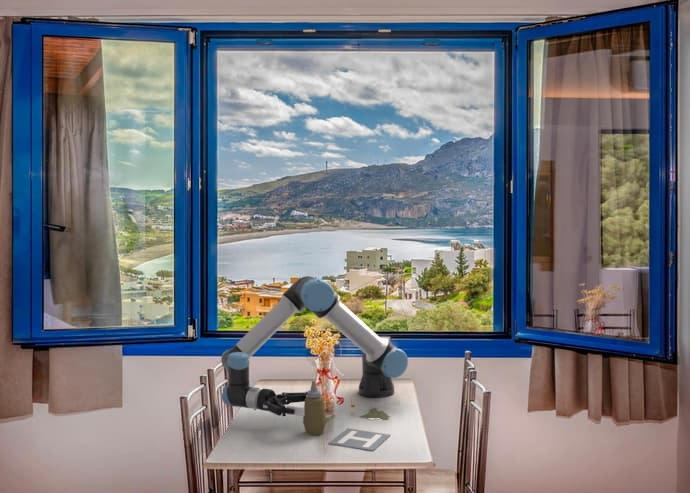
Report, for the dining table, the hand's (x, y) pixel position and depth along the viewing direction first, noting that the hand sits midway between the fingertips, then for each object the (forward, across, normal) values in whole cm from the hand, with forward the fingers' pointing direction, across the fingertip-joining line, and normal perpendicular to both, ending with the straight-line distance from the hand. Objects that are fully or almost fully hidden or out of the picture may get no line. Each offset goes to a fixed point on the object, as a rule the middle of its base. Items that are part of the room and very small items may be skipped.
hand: (313, 406), depth 207 cm
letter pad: (+17, 0, -9) cm, 19 cm away
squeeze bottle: (0, 0, -10) cm, 10 cm away
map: (+13, -23, -10) cm, 28 cm away
